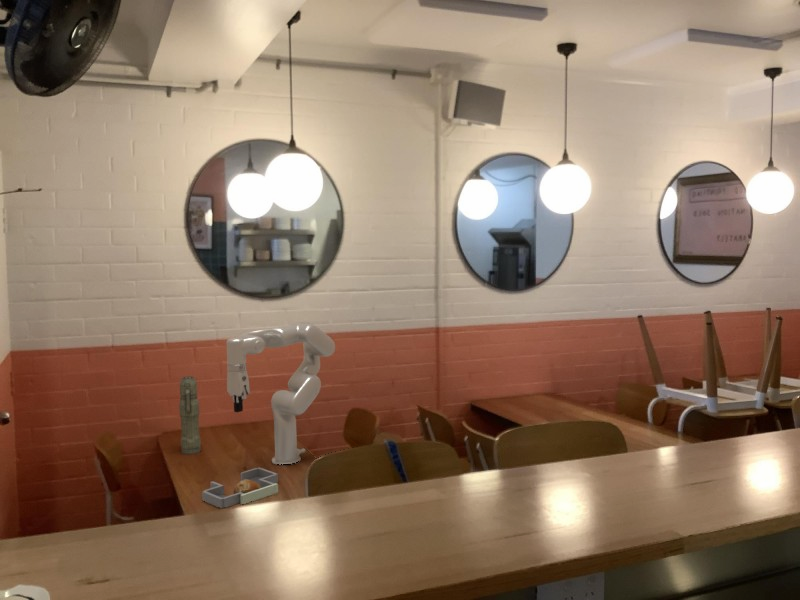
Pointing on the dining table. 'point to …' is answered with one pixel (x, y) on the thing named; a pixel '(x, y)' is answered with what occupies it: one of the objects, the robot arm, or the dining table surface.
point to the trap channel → (257, 475)
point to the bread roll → (246, 486)
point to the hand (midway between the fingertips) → (238, 411)
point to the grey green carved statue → (189, 416)
